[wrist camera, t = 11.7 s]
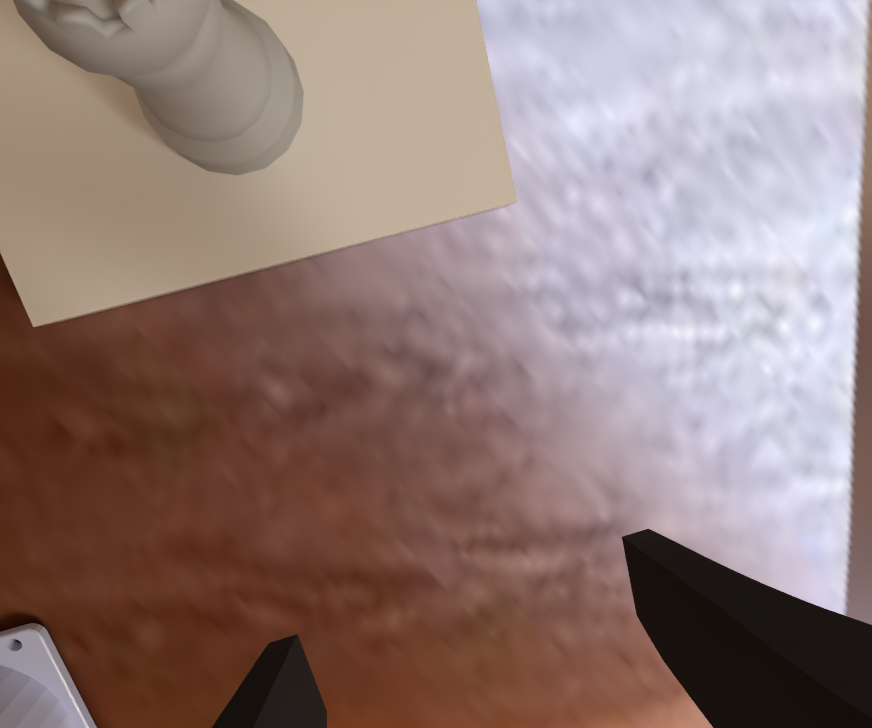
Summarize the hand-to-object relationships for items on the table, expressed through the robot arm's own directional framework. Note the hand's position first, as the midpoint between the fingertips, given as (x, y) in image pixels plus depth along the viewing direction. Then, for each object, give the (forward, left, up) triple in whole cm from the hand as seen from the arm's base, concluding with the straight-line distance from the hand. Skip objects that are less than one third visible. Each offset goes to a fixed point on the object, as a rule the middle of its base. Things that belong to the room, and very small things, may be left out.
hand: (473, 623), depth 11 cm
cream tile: (-3, +14, -9) cm, 17 cm away
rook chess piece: (-3, +13, -8) cm, 16 cm away
